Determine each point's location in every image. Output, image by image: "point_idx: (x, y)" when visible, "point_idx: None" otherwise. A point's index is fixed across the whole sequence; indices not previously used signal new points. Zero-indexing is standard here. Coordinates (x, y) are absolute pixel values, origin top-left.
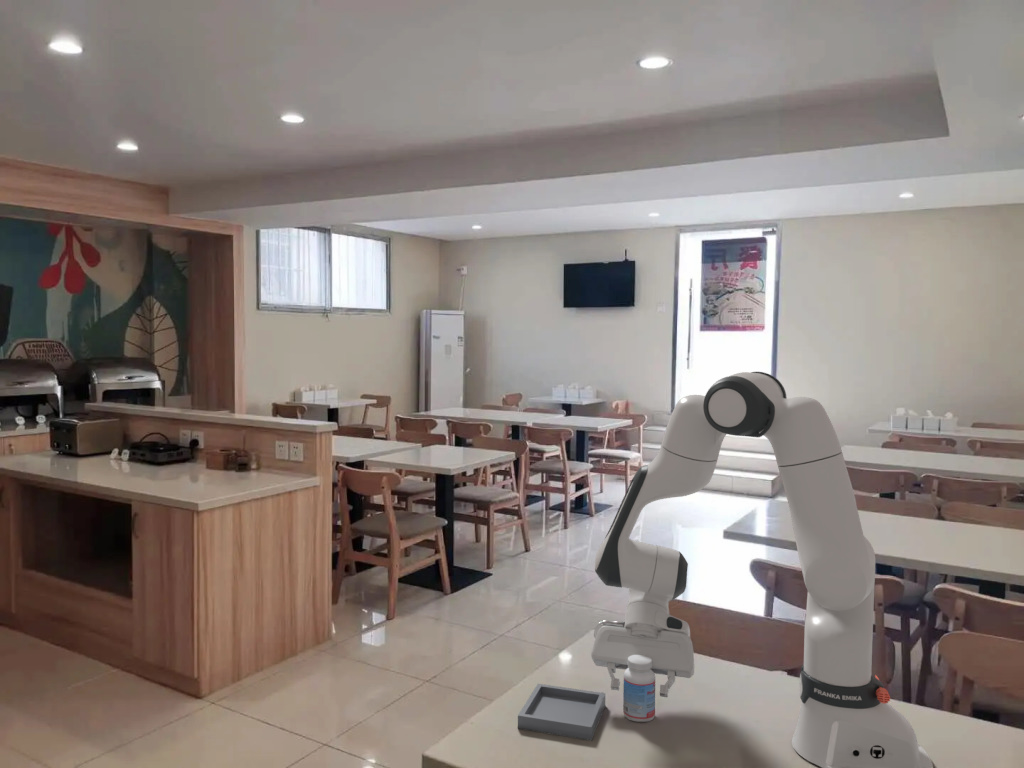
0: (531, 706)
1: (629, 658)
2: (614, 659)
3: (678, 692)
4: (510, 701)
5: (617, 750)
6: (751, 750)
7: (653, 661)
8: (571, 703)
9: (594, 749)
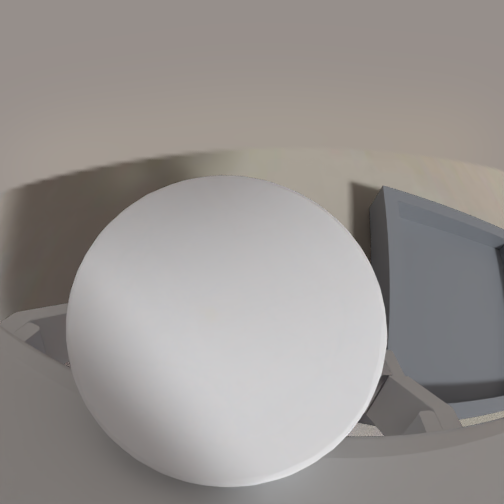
0: None
1: (370, 318)
2: (456, 435)
3: None
4: None
5: (302, 174)
6: (17, 209)
7: (64, 400)
8: (456, 367)
9: (353, 177)
